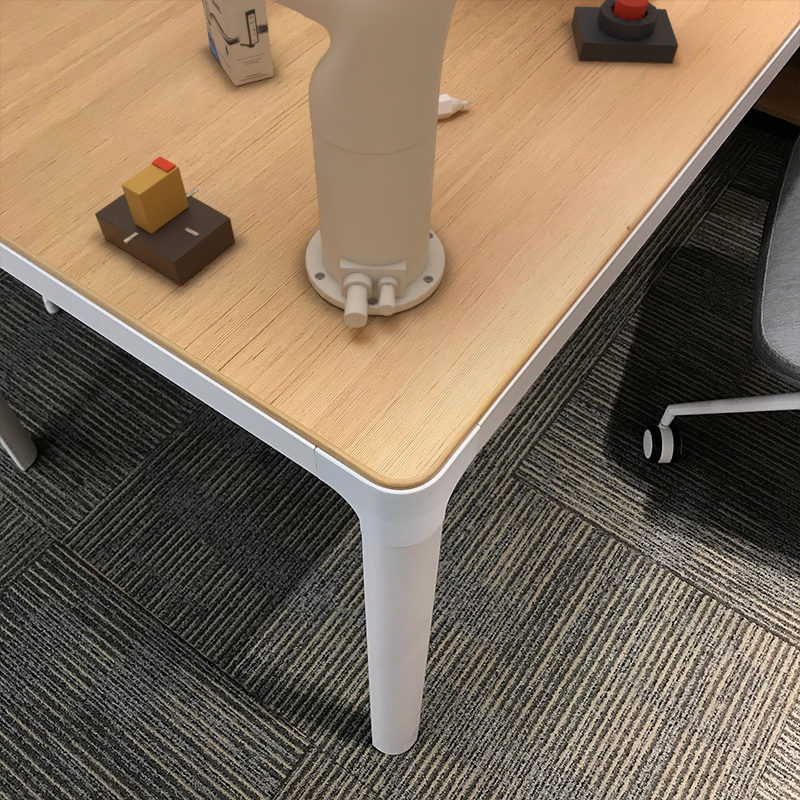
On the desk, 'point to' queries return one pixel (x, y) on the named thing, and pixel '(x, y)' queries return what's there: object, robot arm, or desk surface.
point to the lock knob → (155, 195)
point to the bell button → (630, 9)
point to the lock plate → (170, 237)
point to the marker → (449, 105)
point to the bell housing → (623, 35)
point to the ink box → (240, 38)
